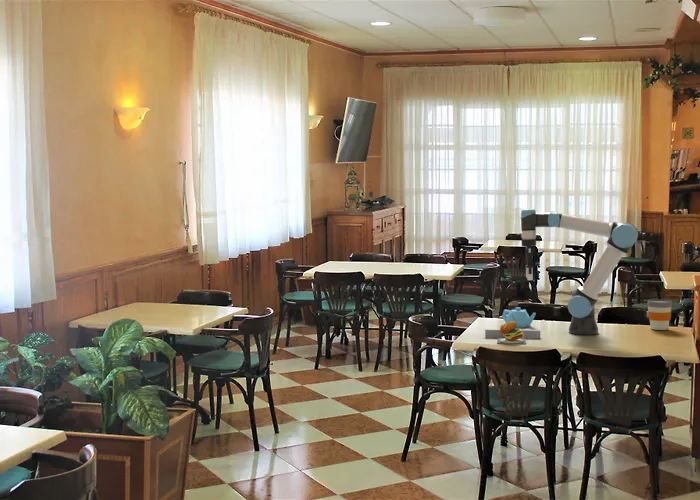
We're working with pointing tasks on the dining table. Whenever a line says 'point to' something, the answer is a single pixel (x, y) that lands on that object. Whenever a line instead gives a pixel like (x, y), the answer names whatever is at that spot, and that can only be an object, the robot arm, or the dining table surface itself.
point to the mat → (504, 341)
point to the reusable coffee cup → (659, 314)
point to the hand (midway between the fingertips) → (529, 278)
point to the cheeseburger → (511, 331)
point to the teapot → (518, 317)
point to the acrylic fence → (498, 335)
